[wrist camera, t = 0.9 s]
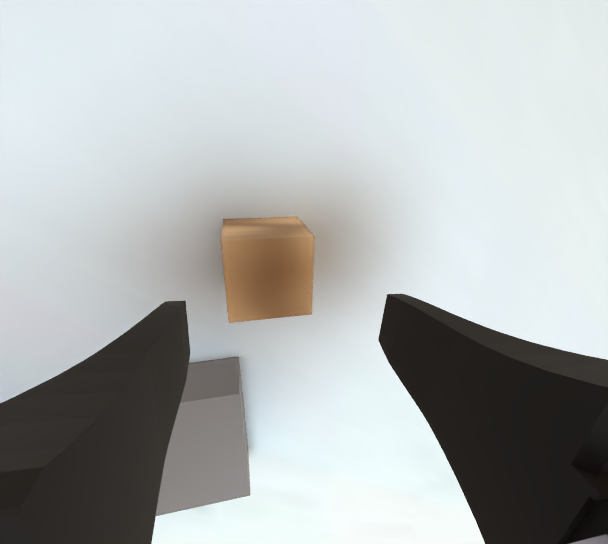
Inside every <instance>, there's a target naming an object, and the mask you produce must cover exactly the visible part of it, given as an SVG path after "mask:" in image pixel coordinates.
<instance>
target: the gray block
mask: <svg viewBox="0 0 608 544" xmlns="http://www.w3.org/2000/svg"><path fill="white" fill-rule="evenodd" d="M249 495H250V479H249V458H248V445H247V435H246V425H245V415H244V405H243V395H242V385H241V375H240V365H239V357H233V358H225V359H218V360H210V361H203V362H195V363H189V365H188V372H187V379H186V383H185V387H184V390H183V394H182V398H181V401H180V405H179V409H178V412H177V416H176V419H175V423H174V427H173V430H172V434H171V438H170V441H169V445H168V449H167V453H166V458H165V463H164V468H163V474H162V480H161V486H160V492H159V497H158V504H157V510H156V516H159V515H163V514H168V513H172V512H177V511H181V510H186V509H190V508H195V507H199V506H204V505H208V504H213V503H218V502H222V501H227V500H231V499H236V498H240V497H245V496H249Z"/></svg>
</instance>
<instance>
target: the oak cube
mask: <svg viewBox="0 0 608 544" xmlns="http://www.w3.org/2000/svg"><path fill="white" fill-rule="evenodd" d="M221 246H222V256H223V267H224V277H225V287H226V298H227V308H228V319H229V323H230V322H240V321H250V320H260V319H270V318H280V317H290V316H300V315H310V314H312V289H313V254H314V236H313V235H312V233H311V232H310V231H309V230H308V229H307V228H306V227H305V225H304V224H303V223H302V222H301V221H300V220H299V218H298V217H277V218H247V219H223V228H222V236H221Z"/></svg>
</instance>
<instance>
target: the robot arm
mask: <svg viewBox="0 0 608 544" xmlns="http://www.w3.org/2000/svg"><path fill="white" fill-rule="evenodd" d="M379 342H380V344H381V347H382V349H383V351H384V353H385V355H386V357H387V359H388V362H389V363H390V365H391V366H392V368H393V370H394V371H395V373H396V374H397V376H398V377H399V379H400V380H401V382H402V383H403V385H404V386H405V388H406V389H407V391H408V392H409V394H410V395H411V397H412V398H413V400H414V401H415V403H416V404H417V406H418V407H419V409H420V410H421V412H422V413H423V415H424V417H425V418H426V420H427V422H428V423H429V425H430V427H431V429H432V431H433V432H434V434H435V436H436V438H437V440H438V442H439V444H440V446H441V448H442V450H443V451H444V453H445V455H446V458H447V460H448V462H449V464H450V466H451V468H452V470H453V472H454V474H455V476H456V478H457V480H458V482H459V484H460V486H461V489H462V491H463V493H464V495H465V498H466V500H467V502H468V504H469V506H470V509H471V511H472V513H473V515H474V518H475V520H476V522H477V525H478V527H479V529H480V532H481V534H482V537H483V539H484V542H485V544H608V360H605V359H600V358H595V357H590V356H585V355H581V354H576V353H572V352H567V351H563V350H559V349H555V348H551V347H547V346H543V345H540V344H536V343H532V342H529V341H525V340H522V339H519V338H516V337H513V336H510V335H507V334H503V333H500V332H498V331H495V330H492V329H489V328H486V327H484V326H481V325H479V324H476V323H474V322H471V321H468V320H466V319H464V318H461V317H459V316H456V315H454V314H452V313H449V312H447V311H445V310H442V309H440V308H438V307H435V306H433V305H431V304H429V303H426V302H424V301H421V300H419V299H416V298H414V297H411V296H408V295H405V294H387V299H386V304H385V309H384V314H383V319H382V324H381V329H380V334H379ZM189 357H190V346H189V335H188V323H187V312H186V301H168V302H164V303H163V304H161V305H160V306H159V307H158V308H156V309H155V310H154V311H153V312H151V313H150V314H149V315H148V316H146V317H145V318H144V319H143V320H141V321H140V322H139V323H137V324H136V325H135V326H134V327H132V328H131V329H130V330H128V331H127V332H126V333H124V334H123V335H121V336H120V337H118V338H117V339H116V340H114V341H113V342H111V343H110V344H108V345H107V346H106V347H104V348H103V349H101V350H100V351H98V352H97V353H95V354H94V355H92V356H90V357H89V358H87V359H86V360H84V361H82V362H80V363H79V364H77V365H75V366H74V367H72V368H70V369H68V370H67V371H65V372H63V373H61V374H59V375H58V376H56V377H54V378H52V379H50V380H48V381H46V382H44V383H42V384H40V385H38V386H36V387H34V388H32V389H30V390H28V391H26V392H24V393H22V394H20V395H18V396H16V397H14V398H11V399H9V400H7V401H5V402H3V403H0V544H151V541H152V535H153V529H154V522H155V516H156V510H157V504H158V497H159V492H160V486H161V480H162V474H163V468H164V463H165V458H166V453H167V449H168V445H169V441H170V438H171V434H172V430H173V427H174V423H175V419H176V416H177V412H178V409H179V405H180V401H181V398H182V394H183V390H184V387H185V383H186V379H187V372H188V365H189Z"/></svg>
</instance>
